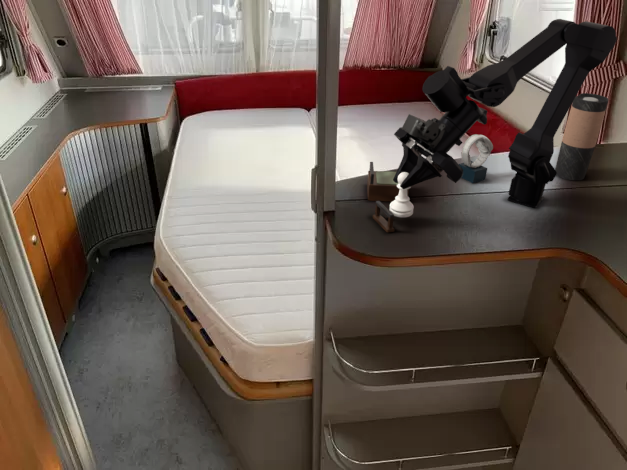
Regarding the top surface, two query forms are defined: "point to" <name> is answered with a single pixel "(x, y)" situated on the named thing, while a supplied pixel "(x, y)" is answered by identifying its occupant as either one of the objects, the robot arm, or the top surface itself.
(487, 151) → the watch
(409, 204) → the chess pawn
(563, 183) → the top surface
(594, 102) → the travel mug
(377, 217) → the low rail
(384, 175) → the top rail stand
